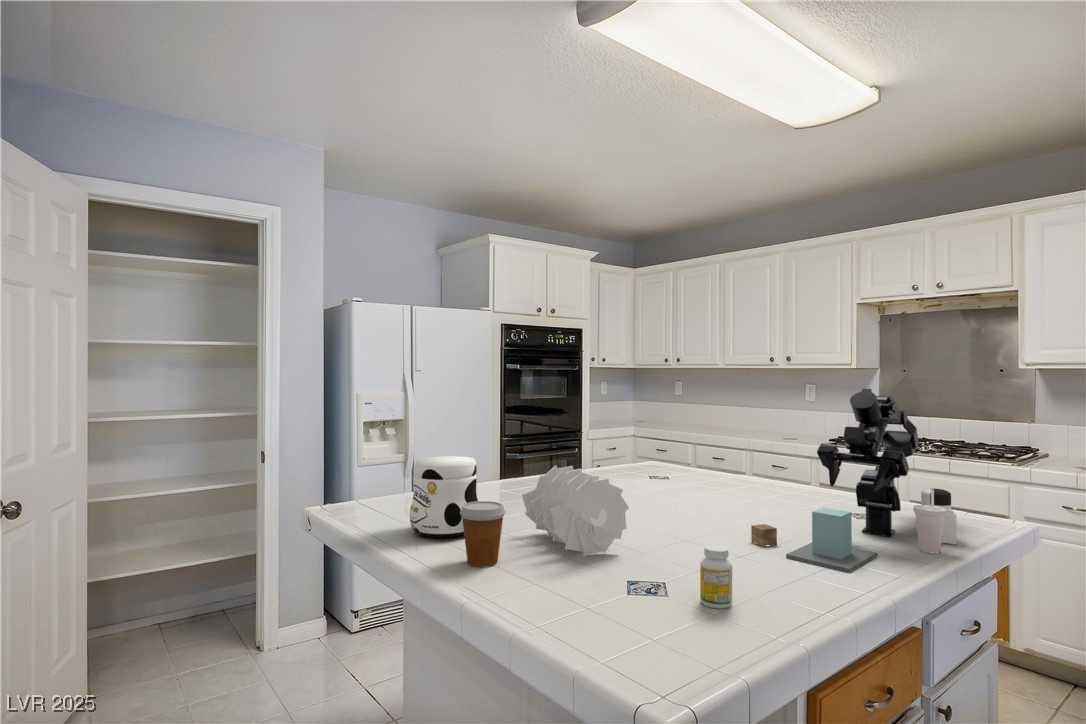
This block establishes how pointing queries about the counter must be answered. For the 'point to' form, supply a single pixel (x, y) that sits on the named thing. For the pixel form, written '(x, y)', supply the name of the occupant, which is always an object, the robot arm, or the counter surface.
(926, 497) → the medicine bottle
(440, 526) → the milk container
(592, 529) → the spiral staircase
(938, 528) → the smoothie
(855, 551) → the mat
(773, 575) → the counter surface
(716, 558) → the supplement bottle
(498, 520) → the disposable coffee cup
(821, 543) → the pale teal box
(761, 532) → the block
